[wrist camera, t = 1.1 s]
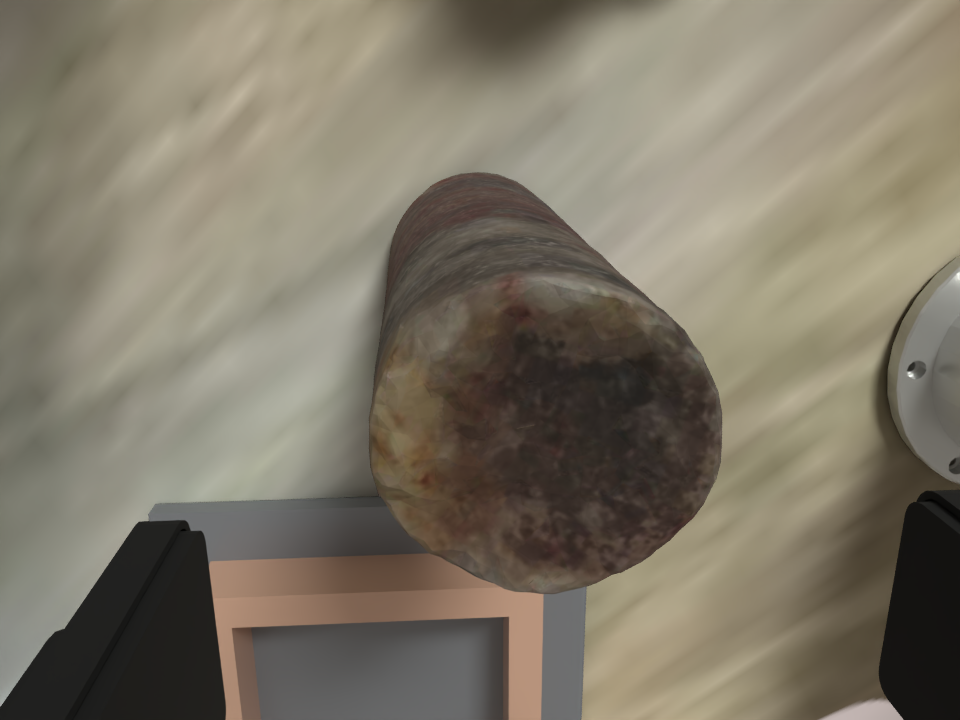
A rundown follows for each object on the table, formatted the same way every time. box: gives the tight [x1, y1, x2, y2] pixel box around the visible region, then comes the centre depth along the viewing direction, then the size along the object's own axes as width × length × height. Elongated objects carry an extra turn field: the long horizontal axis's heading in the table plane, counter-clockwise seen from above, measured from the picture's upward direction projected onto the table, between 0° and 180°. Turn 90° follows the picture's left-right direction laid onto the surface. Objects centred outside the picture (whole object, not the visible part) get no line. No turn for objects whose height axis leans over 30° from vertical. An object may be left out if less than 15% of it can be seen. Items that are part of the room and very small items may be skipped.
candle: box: [369, 173, 722, 594], centre depth 25 cm, size 8×7×20 cm
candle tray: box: [148, 497, 586, 720], centre depth 39 cm, size 20×20×4 cm
